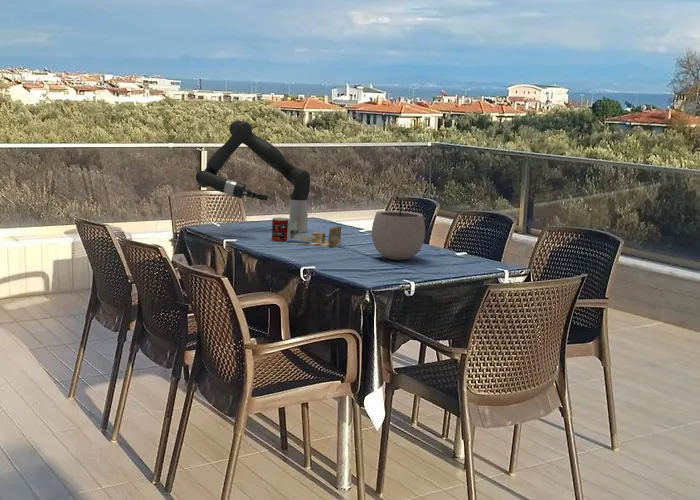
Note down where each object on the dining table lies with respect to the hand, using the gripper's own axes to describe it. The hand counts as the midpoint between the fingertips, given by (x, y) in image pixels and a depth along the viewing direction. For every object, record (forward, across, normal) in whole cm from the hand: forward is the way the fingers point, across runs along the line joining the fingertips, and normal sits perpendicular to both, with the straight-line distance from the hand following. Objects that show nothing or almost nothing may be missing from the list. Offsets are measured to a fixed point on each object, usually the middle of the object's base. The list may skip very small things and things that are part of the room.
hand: (265, 198), depth 404 cm
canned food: (+13, 0, +18) cm, 22 cm away
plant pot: (+71, -32, +7) cm, 78 cm away
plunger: (+24, -2, +14) cm, 27 cm away
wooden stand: (+31, -4, +14) cm, 34 cm away
